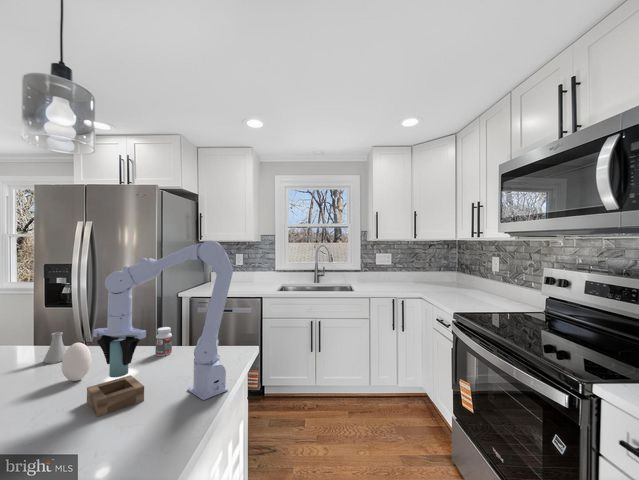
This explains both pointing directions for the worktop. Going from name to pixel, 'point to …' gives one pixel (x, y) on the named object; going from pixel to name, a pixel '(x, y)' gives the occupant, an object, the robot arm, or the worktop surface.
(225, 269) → the robot arm
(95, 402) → the walnut holder
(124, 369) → the teal peg
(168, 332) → the pill bottle
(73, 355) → the egg
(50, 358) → the flask
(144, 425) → the worktop surface
